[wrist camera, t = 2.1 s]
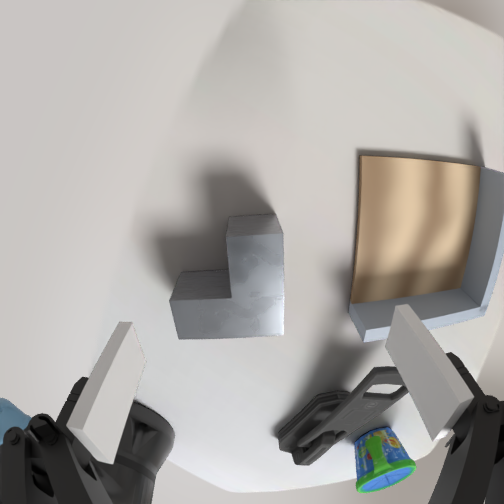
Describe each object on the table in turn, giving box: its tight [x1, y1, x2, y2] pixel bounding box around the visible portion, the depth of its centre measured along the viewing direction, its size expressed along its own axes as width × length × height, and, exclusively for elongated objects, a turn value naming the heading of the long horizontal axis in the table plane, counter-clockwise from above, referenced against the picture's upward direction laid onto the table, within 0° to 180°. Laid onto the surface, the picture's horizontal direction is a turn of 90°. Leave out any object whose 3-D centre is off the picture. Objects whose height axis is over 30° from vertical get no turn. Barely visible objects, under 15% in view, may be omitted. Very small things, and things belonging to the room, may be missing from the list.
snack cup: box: [355, 427, 416, 493], centre depth 36 cm, size 16×10×10 cm
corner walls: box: [348, 166, 504, 342], centre depth 24 cm, size 16×16×5 cm
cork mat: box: [350, 156, 481, 304], centre depth 25 cm, size 15×14×1 cm
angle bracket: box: [169, 214, 284, 339], centre depth 24 cm, size 9×9×5 cm
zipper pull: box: [279, 366, 409, 465], centre depth 32 cm, size 9×7×25 cm
